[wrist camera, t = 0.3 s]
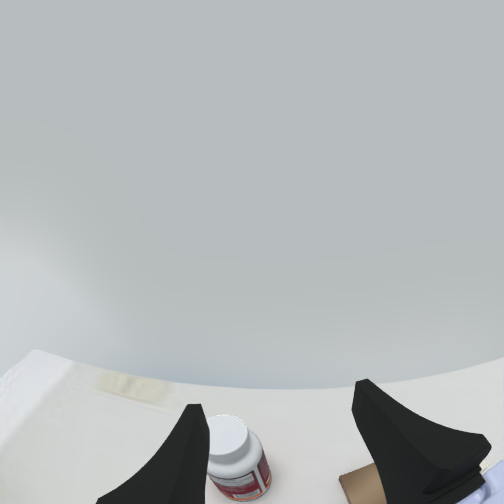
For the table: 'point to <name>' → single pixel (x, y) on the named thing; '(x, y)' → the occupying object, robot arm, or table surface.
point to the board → (363, 486)
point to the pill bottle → (236, 459)
